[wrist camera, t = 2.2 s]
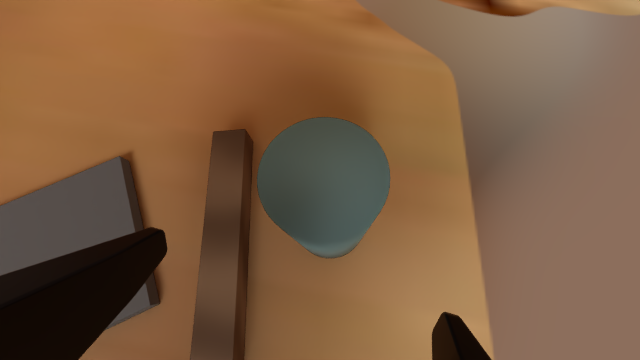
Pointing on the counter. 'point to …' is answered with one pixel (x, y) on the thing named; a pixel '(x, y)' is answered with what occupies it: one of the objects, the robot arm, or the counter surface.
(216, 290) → the bar
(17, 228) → the mat
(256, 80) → the counter surface
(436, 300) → the counter surface
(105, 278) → the robot arm
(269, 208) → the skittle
